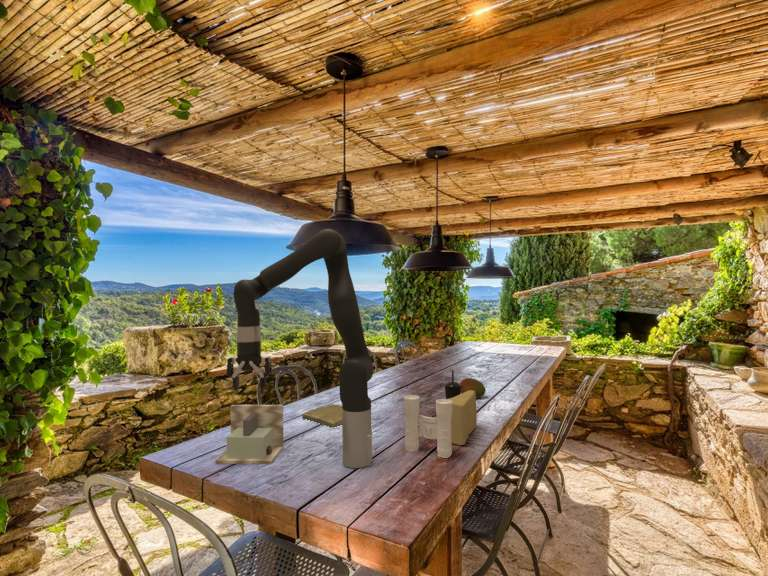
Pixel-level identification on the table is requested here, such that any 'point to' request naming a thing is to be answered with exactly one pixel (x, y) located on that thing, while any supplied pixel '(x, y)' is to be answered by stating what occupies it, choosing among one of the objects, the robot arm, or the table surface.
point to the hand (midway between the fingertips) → (249, 388)
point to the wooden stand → (265, 419)
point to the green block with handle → (249, 440)
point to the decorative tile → (325, 415)
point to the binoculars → (428, 425)
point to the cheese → (463, 416)
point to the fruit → (473, 386)
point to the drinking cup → (452, 388)
